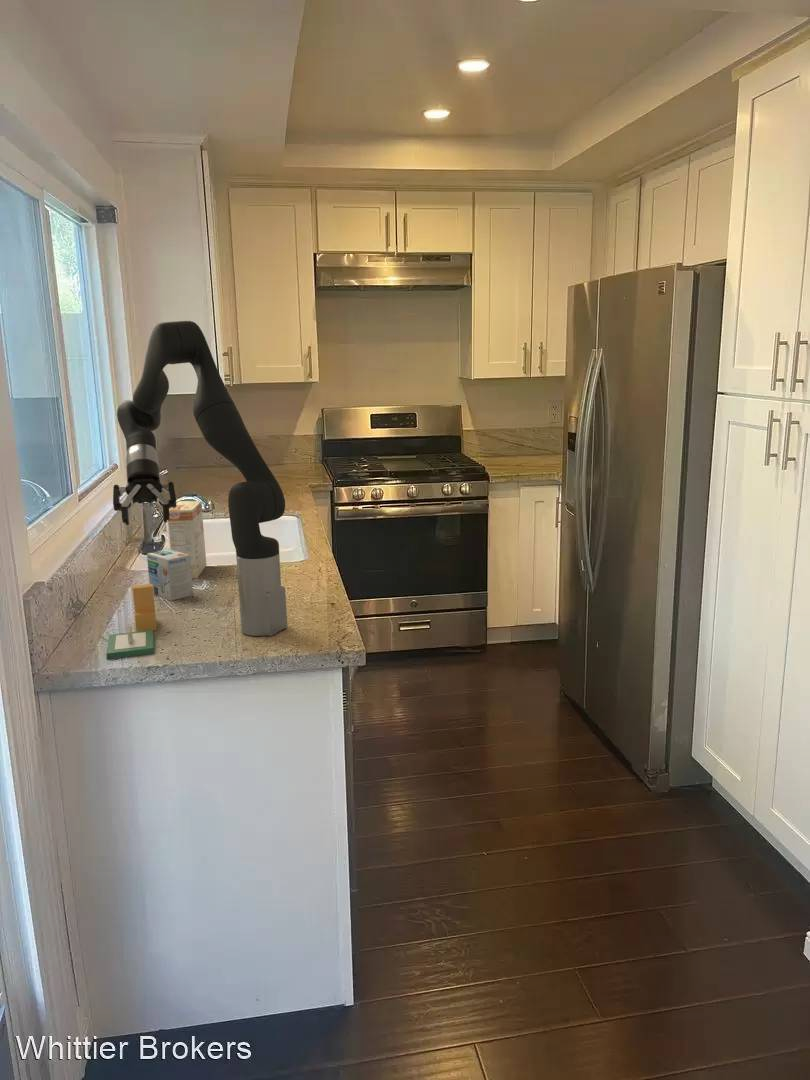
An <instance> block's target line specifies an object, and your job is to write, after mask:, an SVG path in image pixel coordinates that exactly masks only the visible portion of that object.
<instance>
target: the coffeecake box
mask: <svg viewBox="0 0 810 1080" xmlns="http://www.w3.org/2000/svg"><path fill="white" fill-rule="evenodd" d="M176 505H177V506H176V507H175V508H173V507H171V508H170V509H169V515H170V519H169V520H167V524H168V525H167V526H168V535H169V537H168V538H169V546H170V547H169V549H170V550H174V551H177V552H181V553H184V554H188V555H190V561H191V574H192V580H193V579H198V578H199V576H200V575H201V573H202V572H203V571H204V570H205V568H206V566H208V564H207V557H206V543H205V542H206V540H205V529H204V519H203V517H204V516H203V509H202V508H203V507H202V500H180V501H176Z"/></svg>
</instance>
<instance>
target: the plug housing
mask: <svg viewBox="0 0 810 1080" xmlns="http://www.w3.org/2000/svg"><path fill="white" fill-rule="evenodd" d="M132 596H133V604H134V605H133V606H134V619H135V629H136V631H145V630H153V632H154V630H155V631H157V617H156V616H157V615H156V606H155V605H156V604H155V594H153V584H149V583H148V584H146V583H145V584H138V585H132ZM136 631H135V632H136Z"/></svg>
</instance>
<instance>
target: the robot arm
mask: <svg viewBox="0 0 810 1080" xmlns="http://www.w3.org/2000/svg"><path fill="white" fill-rule="evenodd" d="M147 343H148V344H147V347H146V353H145V356H144V357H145V358H144V364H143V369H142V374H141V375H140V379H139V381H138V383H137V384H136V388H135V390H134V392H133V393H132V400H129V399H127V400H124V401H122V402H120V404H118V407H117V411H116V418H117V422H118V425H119V427H120V429H121V431H122V434H123V436H124V437H123V438H124V439H125V442H126V443H125V445H126V446H125V447H126V456H125V457H126V458H125V462H126V463H125V464H126V465H125V468H126V480H127V481H126V482H127V483H126V486H120V485H118V484H114V485H113V492H112V505H113V510H114V511H115V512H118V511H120V512H121V521H122V523H123V524H125V526H128V525H130V521H129V519H130V518H129V510H130V509H131V508H133V507H134V506H135V505H136V503H138V504H144V503H146V504H147V503H148V504H152V503H153V502H154V503H155V504H156V505H158V506H160V507H161V508H162V514H163V523H168V520H169V519H170V515H169V509H170V508H171V507H173V508H175V507H176V506H177V505H176V503H177V496H176V491H175V485H174V482H173V481H168V483H167V484H162V483H161V477H160V464H159V456H158V453H157V443H156V441H157V439H156V436H155V433H153V431H155V430H157V429H158V428H159V427H160V424H161V417H162V415H161V410H162V409H161V408H162V406H163V403H164V401H165V399H166V398H167V395H168V393H169V389H170V381H169V378H168V377H167V374H166V373H165V371H164V368H165V367H166V366H168V365H176V364H177V365H178V364H187V363H188V364H190V365H191V366H192V367H193V370H194V371H195V375H196V378H197V385H196V392H195V394H194V399H193V407H192V408H193V410H192V412H193V417H194V419H195V422H196V424H197V426H198V428H199V430H200V432H201V435H202V436H203V438H204V440H205V441H206V443H207V444H209V446H210V447H211V448H212V449H213V450H215V451H216V452H217V453H218V454H219V455H221V457H223V458H225V459H226V460H228V461H229V462H230V463H231V464H232V465H233V466H234V467H235V468H237V469H238V471H239V472H240V473H241V475H242V476H243V478H244V479H245V481H241V482H237V483H235V484H233V485H232V486H231V487H230V490H229V491H228V492H229V493H228V498H227V503H228V504H227V505H228V515H229V522H230V530H231V531H230V533H231V538H232V539H231V540H232V542H233V545H234V549H235V554H236V556H235V557H236V559H235V560H236V573H237V585H238V587H237V588H238V600H239V613H240V614H239V615H240V627H241V633H243V634H244V635H247V636H253V637H262V636H263V637H264V636H269V637H271V636H272V637H273V636H274V635H276V634H278V633H280V632H282V631H283V629H284V630H286V629H288V617H287V616H288V615H287V614H288V613H287V612H288V611H287V597H286V587H285V586H282V577H281V561H280V560H281V559H280V544H279V541H278V540H277V539H276V538H273V537H269V536H265V535H263V534H262V533H261V527H260V524H262V523H266V522H271V521H274V520H275V521H276V520H279V519H281V518H282V517H283V515H284V514H285V510H286V500H285V495H284V493H283V490H282V488H281V485H280V483H279V482H278V480H277V479H276V477H275V476H274V474H273V472H272V471H271V469H270V467H269V466H268V464H267V463H266V461H265V460H264V458H263V457H262V455H261V453H260V452H259V450H258V447H257V446H256V444H255V442H254V441H253V439H252V436H251V435H250V433H249V431H248V429H247V427H246V425H245V422H244V421H243V418H242V416H241V414H240V412H239V409H238V408H237V406H236V404H235V402H234V400H233V399H232V397H231V394H230V393H229V391H228V389H227V388H226V385H225V382H224V380H223V379H222V377H221V375H220V372H219V370H218V368H217V365H216V362H215V360H214V357H213V355H212V352H211V350H210V346H209V345H208V341H207V338H206V336H205V334H204V333H203V331H202V329H201V327H200V326H199V325H198V324H197V323H196V322H194V321H191V320H178V321H164V322H160V323H159V322H158V323H157V324H155V325H154V326H153V327H152V329H151V332H150V334H149V338H148V342H147ZM163 491H165V493H166V494H167V495H169V500H167V498H165V497H164V495H163V494H162V492H163ZM125 493H126V494H127V496H126V498H125V499H124V500H123V502H122V503H121V502H120V498H121V497H122V496H123V495H124V494H125ZM285 628H286V629H285ZM281 630H282V631H281ZM279 631H280V632H279ZM277 632H278V633H277Z"/></svg>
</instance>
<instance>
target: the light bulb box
mask: <svg viewBox="0 0 810 1080" xmlns="http://www.w3.org/2000/svg"><path fill="white" fill-rule="evenodd" d="M146 558H147V570H148V582H149V583H148V584H153V594H154V596H156V597H157V596H158V597H160V598H163V599H166V600H168V601H174V600H179V599H183V598H187V597H191V596H193V595H194V589H193V579H192V574H191V561H190V555H188V554H184V553H181V552H177V551H174V550H171V548H168V549H163V550H158V551H154V552H148V553H146Z"/></svg>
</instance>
